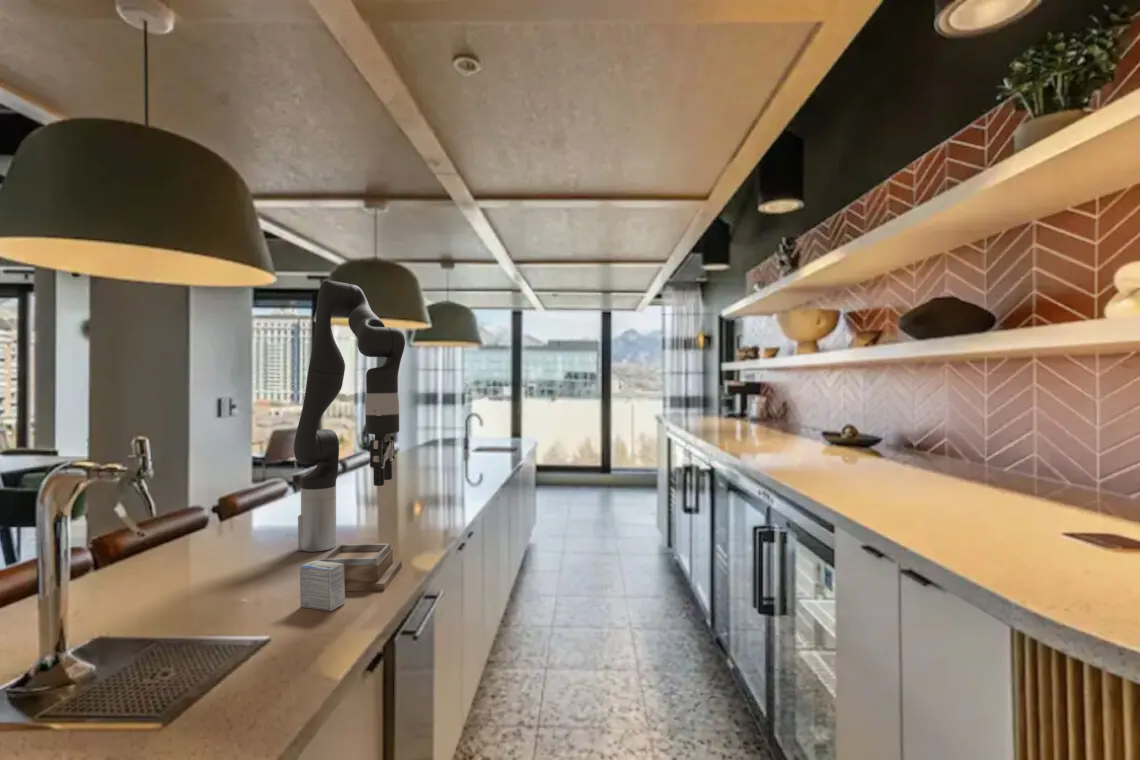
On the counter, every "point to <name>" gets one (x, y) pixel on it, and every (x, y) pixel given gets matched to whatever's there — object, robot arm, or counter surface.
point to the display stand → (365, 565)
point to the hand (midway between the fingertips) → (383, 482)
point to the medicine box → (322, 585)
